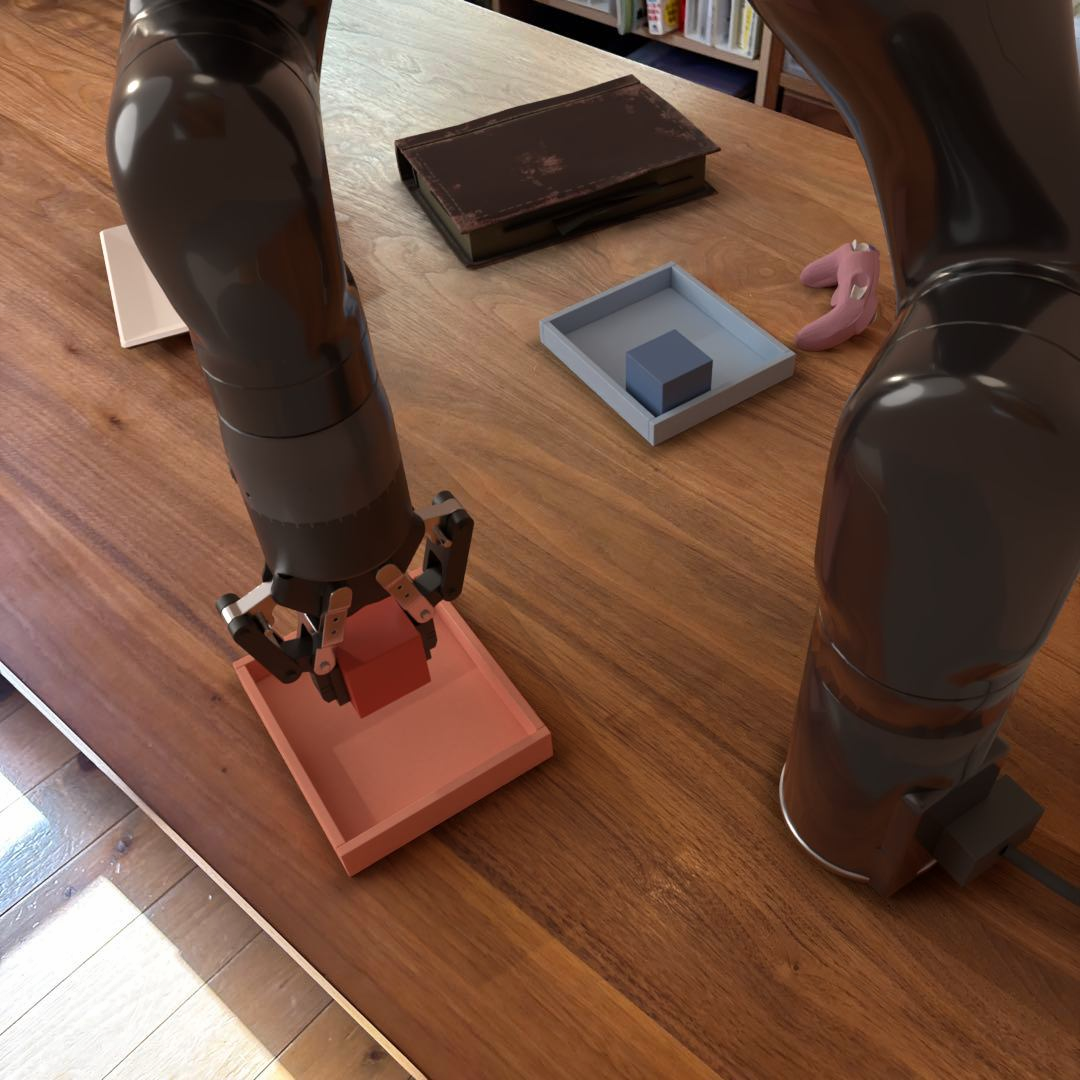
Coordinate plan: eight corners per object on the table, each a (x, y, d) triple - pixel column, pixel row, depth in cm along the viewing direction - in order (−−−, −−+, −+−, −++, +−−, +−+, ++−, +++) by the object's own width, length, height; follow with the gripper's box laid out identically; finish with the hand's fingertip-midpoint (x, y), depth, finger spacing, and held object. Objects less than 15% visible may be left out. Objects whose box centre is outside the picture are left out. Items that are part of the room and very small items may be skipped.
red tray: (553, 755, 64) (551, 732, 62) (350, 877, 60) (341, 856, 58) (427, 589, 73) (422, 565, 71) (242, 686, 69) (231, 662, 67)
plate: (106, 248, 103) (98, 229, 101) (302, 199, 106) (297, 180, 105) (129, 366, 91) (120, 346, 89) (349, 306, 95) (344, 286, 93)
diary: (399, 182, 107) (390, 133, 104) (628, 115, 113) (628, 66, 109) (470, 281, 96) (464, 231, 92) (722, 201, 102) (726, 151, 98)
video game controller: (838, 374, 87) (894, 312, 82) (788, 350, 86) (841, 285, 81) (841, 299, 93) (893, 237, 88) (795, 275, 93) (844, 211, 87)
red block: (431, 681, 63) (421, 634, 60) (361, 719, 62) (346, 673, 58) (395, 629, 66) (383, 581, 62) (327, 664, 64) (310, 617, 61)
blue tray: (792, 379, 85) (796, 353, 83) (653, 450, 81) (653, 425, 79) (671, 285, 94) (672, 260, 92) (540, 345, 89) (538, 320, 88)
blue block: (710, 407, 83) (713, 359, 79) (661, 431, 81) (662, 384, 78) (673, 375, 85) (674, 328, 82) (625, 399, 84) (625, 352, 80)
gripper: (199, 580, 46) (291, 783, 59) (493, 441, 51) (520, 658, 64) (141, 475, 51) (239, 685, 63) (417, 356, 55) (456, 575, 68)
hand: (379, 671), depth 63 cm, fingers closed on red block, 4 cm apart
